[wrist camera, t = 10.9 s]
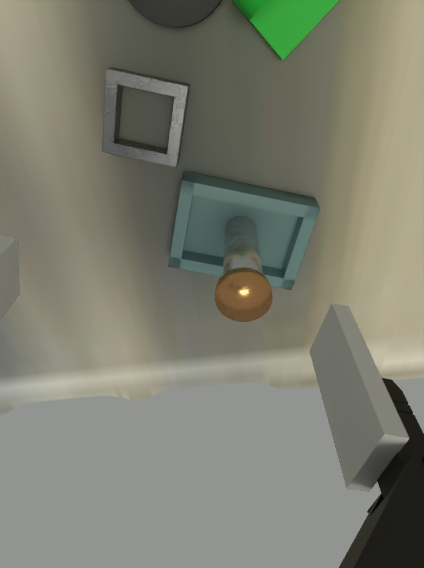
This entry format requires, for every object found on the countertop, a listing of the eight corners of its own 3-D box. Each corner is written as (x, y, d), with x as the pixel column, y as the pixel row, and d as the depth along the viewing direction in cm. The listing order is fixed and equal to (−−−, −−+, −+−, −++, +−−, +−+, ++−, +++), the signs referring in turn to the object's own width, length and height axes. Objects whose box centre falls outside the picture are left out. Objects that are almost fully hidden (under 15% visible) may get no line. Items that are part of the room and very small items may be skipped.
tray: (172, 253, 45) (168, 266, 43) (185, 171, 40) (181, 180, 38) (288, 275, 46) (291, 289, 43) (314, 197, 41) (320, 208, 39)
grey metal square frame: (107, 147, 39) (102, 151, 38) (112, 67, 36) (106, 68, 34) (178, 161, 40) (176, 167, 38) (189, 84, 36) (187, 86, 34)
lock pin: (216, 245, 43) (210, 316, 32) (224, 207, 41) (221, 269, 30) (256, 253, 44) (264, 326, 32) (266, 215, 41) (279, 279, 30)
